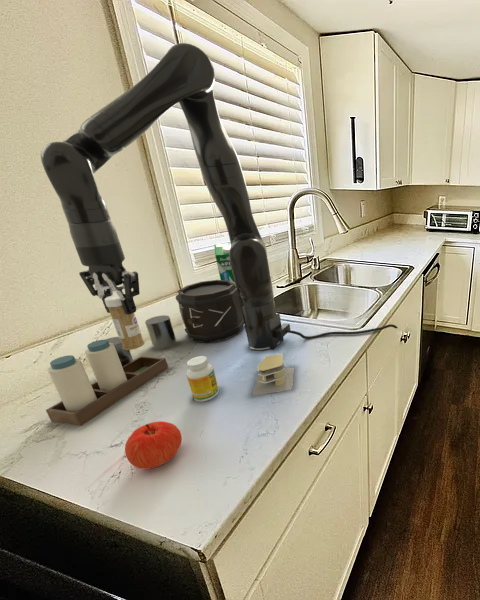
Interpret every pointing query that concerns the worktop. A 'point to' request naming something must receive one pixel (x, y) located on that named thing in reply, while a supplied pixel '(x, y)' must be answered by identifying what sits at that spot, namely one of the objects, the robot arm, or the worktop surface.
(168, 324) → the grey tins
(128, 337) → the sprinkles bottle
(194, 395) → the supplement bottle
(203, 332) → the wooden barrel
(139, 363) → the spice rack
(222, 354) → the worktop surface
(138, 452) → the apple
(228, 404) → the worktop surface
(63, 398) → the off-white bottles
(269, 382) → the stacked layers on plate
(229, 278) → the milk carton
